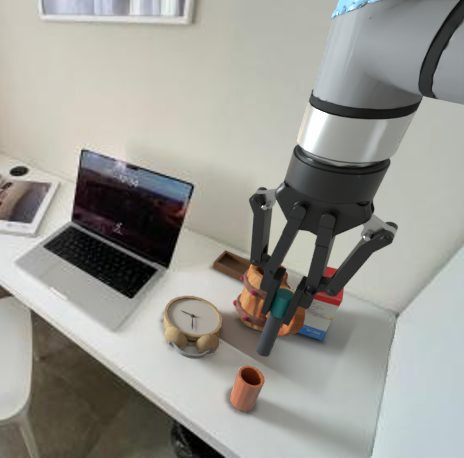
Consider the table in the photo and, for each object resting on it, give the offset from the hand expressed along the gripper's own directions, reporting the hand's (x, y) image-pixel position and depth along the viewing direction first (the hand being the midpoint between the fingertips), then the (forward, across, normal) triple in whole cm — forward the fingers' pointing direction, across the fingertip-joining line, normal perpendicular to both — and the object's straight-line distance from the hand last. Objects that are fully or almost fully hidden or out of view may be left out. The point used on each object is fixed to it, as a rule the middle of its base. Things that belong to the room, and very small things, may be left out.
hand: (278, 312), depth 47 cm
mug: (+24, +4, -17) cm, 30 cm away
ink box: (+24, -3, -25) cm, 35 cm away
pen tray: (+24, +12, -30) cm, 40 cm away
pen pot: (+24, 0, 0) cm, 24 cm away
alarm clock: (+24, +14, -7) cm, 29 cm away
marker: (+9, 0, 0) cm, 9 cm away
